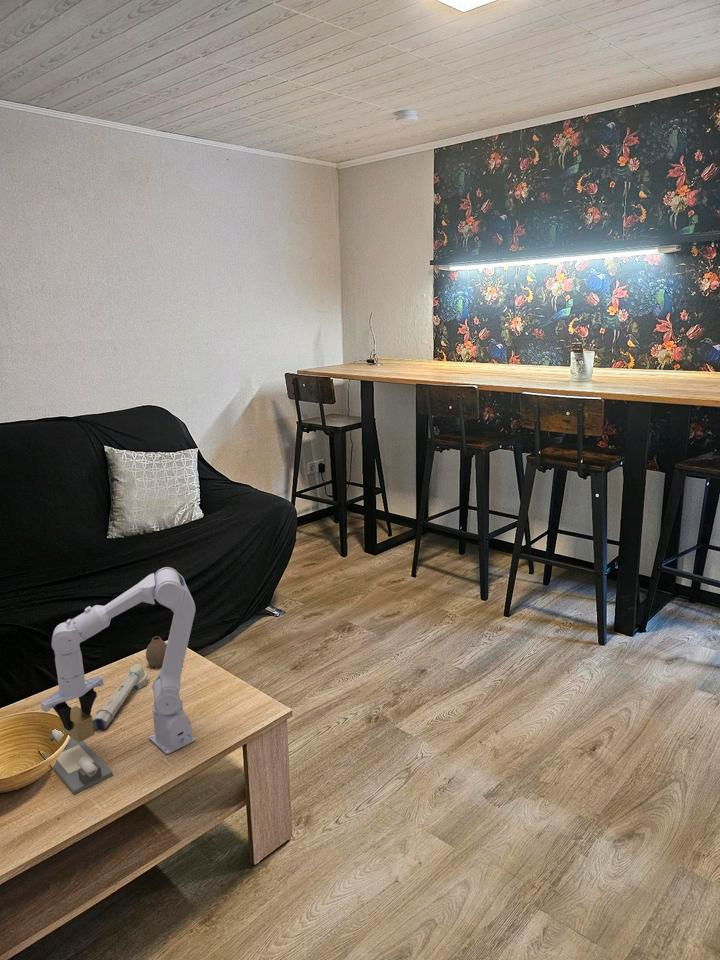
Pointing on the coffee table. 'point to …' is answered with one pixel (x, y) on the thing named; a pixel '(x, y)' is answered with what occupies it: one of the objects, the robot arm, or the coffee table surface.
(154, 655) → the vase
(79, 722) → the block
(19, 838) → the coffee table surface
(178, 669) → the robot arm
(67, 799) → the coffee table surface
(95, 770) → the coupling bed
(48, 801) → the coffee table surface
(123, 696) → the grey long handheld tool
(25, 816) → the coffee table surface
